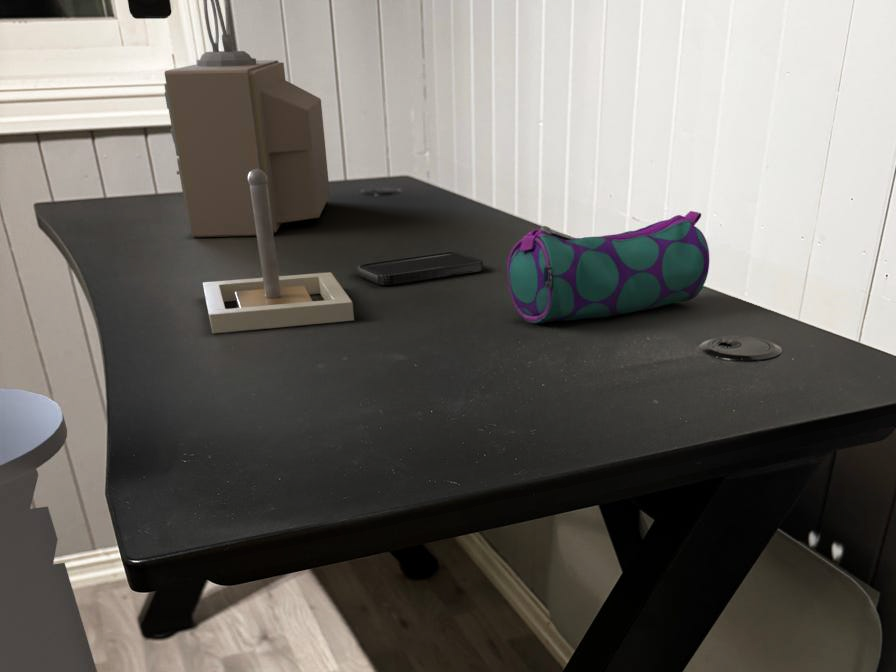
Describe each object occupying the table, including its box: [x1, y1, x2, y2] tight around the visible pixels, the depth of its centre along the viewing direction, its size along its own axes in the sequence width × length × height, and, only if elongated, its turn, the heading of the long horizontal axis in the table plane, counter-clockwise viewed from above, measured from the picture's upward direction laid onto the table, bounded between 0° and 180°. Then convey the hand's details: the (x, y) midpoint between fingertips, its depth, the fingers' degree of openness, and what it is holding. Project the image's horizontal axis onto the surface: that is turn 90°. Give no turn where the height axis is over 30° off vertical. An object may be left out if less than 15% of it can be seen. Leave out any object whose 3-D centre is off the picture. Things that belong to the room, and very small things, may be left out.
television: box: [163, 0, 331, 238], centre depth 147 cm, size 36×20×40 cm, turn 3°
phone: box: [357, 251, 484, 286], centre depth 120 cm, size 8×1×15 cm
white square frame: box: [202, 271, 355, 334], centre depth 106 cm, size 15×15×2 cm
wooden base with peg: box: [235, 169, 314, 308], centre depth 103 cm, size 8×8×14 cm
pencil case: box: [506, 210, 710, 324], centre depth 101 cm, size 21×9×10 cm, turn 115°
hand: (151, 17), depth 78 cm, fingers open, 9 cm apart
